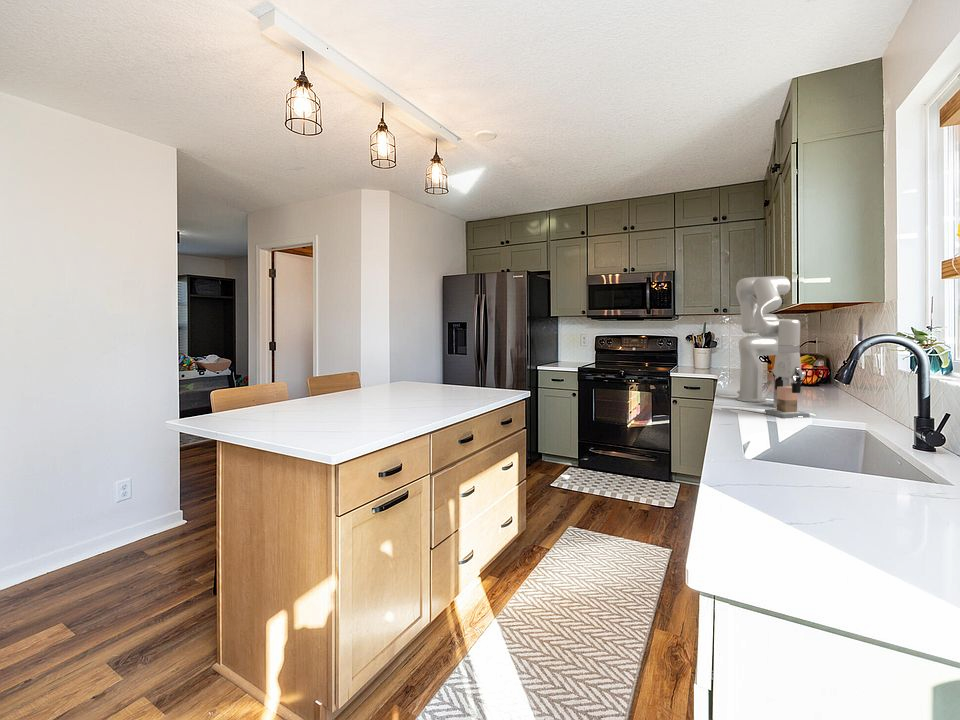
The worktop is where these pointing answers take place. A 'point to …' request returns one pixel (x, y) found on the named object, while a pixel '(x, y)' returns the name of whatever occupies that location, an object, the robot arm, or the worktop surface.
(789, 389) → the terracotta block
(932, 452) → the worktop surface
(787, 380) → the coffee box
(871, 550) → the worktop surface
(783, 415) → the slate blueprint mat
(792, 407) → the walnut block
